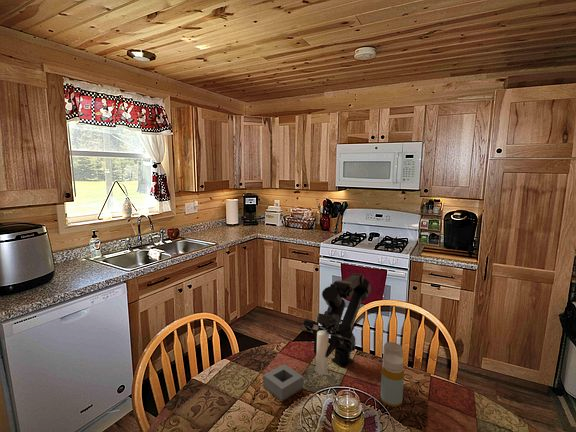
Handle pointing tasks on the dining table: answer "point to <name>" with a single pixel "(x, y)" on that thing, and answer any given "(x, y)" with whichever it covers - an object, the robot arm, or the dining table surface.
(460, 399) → the dining table surface
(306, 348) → the dining table surface
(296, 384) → the hole block
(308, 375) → the dining table surface
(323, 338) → the peg
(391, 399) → the bottle
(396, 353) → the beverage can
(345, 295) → the robot arm
